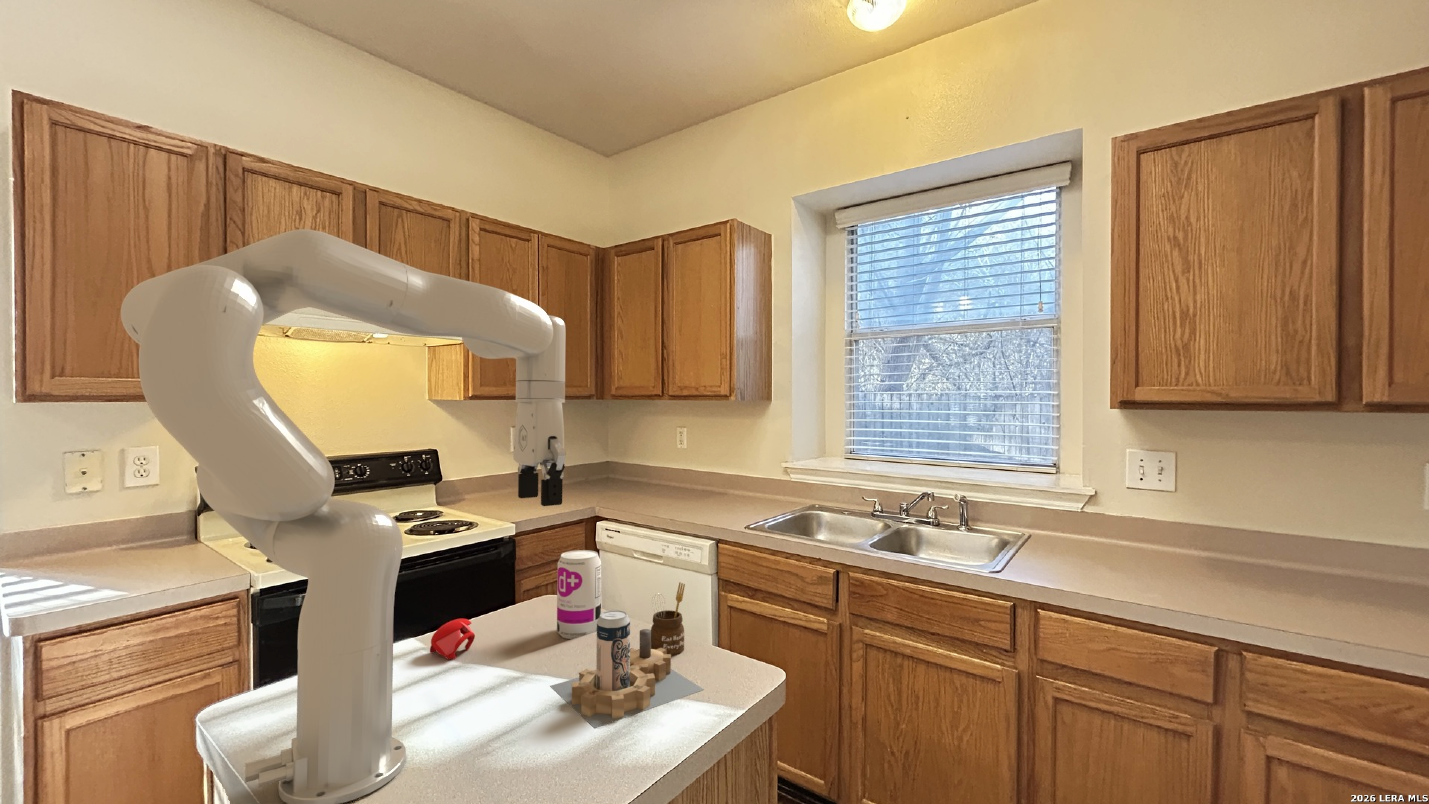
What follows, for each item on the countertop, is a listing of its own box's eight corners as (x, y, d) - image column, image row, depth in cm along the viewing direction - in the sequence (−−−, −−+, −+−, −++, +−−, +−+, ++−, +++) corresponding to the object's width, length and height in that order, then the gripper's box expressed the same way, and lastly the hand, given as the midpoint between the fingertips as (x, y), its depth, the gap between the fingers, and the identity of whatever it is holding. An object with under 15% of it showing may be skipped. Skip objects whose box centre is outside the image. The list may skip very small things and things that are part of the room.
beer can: (622, 707, 84) (623, 621, 84) (590, 703, 85) (591, 619, 85) (633, 691, 88) (634, 610, 89) (603, 688, 89) (604, 608, 90)
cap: (487, 629, 107) (463, 609, 109) (472, 629, 102) (447, 608, 103) (456, 668, 105) (433, 647, 107) (440, 671, 100) (415, 649, 101)
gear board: (594, 735, 78) (594, 728, 78) (549, 692, 90) (549, 685, 90) (704, 696, 89) (704, 689, 89) (651, 662, 101) (651, 656, 101)
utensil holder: (643, 654, 104) (644, 585, 105) (671, 645, 109) (672, 579, 109) (663, 665, 100) (664, 593, 100) (692, 655, 104) (693, 586, 104)
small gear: (642, 688, 89) (642, 645, 89) (608, 672, 95) (608, 631, 95) (681, 671, 95) (681, 630, 95) (647, 656, 101) (647, 618, 101)
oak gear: (595, 727, 78) (595, 707, 79) (559, 693, 88) (559, 676, 88) (669, 701, 86) (669, 683, 86) (628, 672, 95) (628, 656, 95)
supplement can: (578, 644, 109) (579, 561, 109) (547, 634, 113) (548, 555, 113) (609, 630, 116) (610, 553, 116) (579, 622, 120) (579, 547, 120)
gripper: (499, 394, 99) (497, 496, 99) (538, 391, 86) (536, 511, 85) (542, 395, 104) (541, 493, 104) (586, 393, 90) (585, 506, 90)
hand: (539, 501), depth 94 cm, fingers open, 9 cm apart
